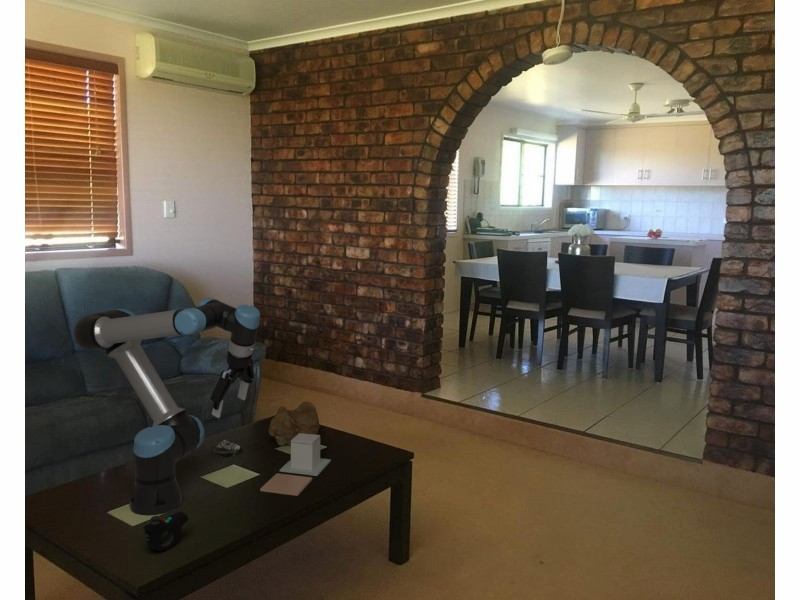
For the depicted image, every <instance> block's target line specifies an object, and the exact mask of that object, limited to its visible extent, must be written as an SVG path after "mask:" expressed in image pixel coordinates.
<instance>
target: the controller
mask: <svg viewBox="0 0 800 600" xmlns="http://www.w3.org/2000/svg"><path fill="white" fill-rule="evenodd" d="M150 521H151V522H150V523H148V524H146V525H144V526H143V529H144V537H145V538H144V540H145V541H146V543H147V545H148V546H149V547H150V548H151V549H152V550H154V551H157V552H164V551H167V550H169V549H171V548H172V547H173V546H174V545H176V543H177V542H178V540H179V538H180V536H181V532H182V527H183V526H184V525H185V524H186V523H188V521H189V517H188V514H186V513H185V512H182V511H178V512H175V513H173V514H171V515H168V516H166V517H163V518H161V519H160V516H159V515H153V516H151V517H150ZM165 533H167V536H166V538H165V540H164V541H163V542H162V543H161V539H162V537H163V535H164V534H165Z"/></svg>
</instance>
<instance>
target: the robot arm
mask: <svg viewBox="0 0 800 600" xmlns="http://www.w3.org/2000/svg"><path fill="white" fill-rule="evenodd" d="M260 318H261V312H260V310H259V309H258V308H257V307H255V306H253V305H248V304H241V305H238V306H237V307H234V306H231V305H229V304H227V303H224V302H222V301H220V300H218V299H215V298H212V297H210V296H209V297H208V296H207V297H204V298H203V299H202V300H200V302H199V303H198V305H197V306H195V307H189V308H188V307H187V308H181V309H174V310H166V311H161V312H160V311H159V312H152V313H144V314H139V315H136V314H135V313H134V312H132V311H130V310H129V309H125V308H112V309H108V310H105V311H101V312H96V313H91V314H87V315H85V316H83V317H81V318H80V319H79V320H78V321H77V322H76V324H75V326H73V327H74V328H73V338H74V341H75V342H76V345H78V346H79V347H80V348H82V349H83V350H86V351H89V352H90V351H91V352H94V351H95V352H96V351H102V350H103V351H104V352H105V353H106V355H107V357H108V358H111V359H115V360H116V362H117V364H118V365H119V367H120V369H121V370H122V372H123V373H124V375H125V377H126V379H127V380H128V382H129V383H130V385H131V386H132V388H133V390H134V392H135V394H136V395H137V396H138V398H139V400H140V401H141V404H143V406H144V408H145V409H146V411H147V413H148V414H149V417H150V418H151V419H152V422H153V423H152V426H147V427H146V428H143V429H141V430H139V432H138V433H137V434H136V435H135V437H134V439H133V440H134V441H133V443H134V444H133V447H132V448H133V459H134V477H135V479H134V481H135V482H134V486H133V490H132V493H131V497H130V499H129V508H130V510H131V512H133V513H134V514H138V515H143V516H150V515H151V516H152V515H153V516H156V515H160V514H165V513H168V512H171V511H174V510H175V509H177V508H179V506H181V504H182V503H183V494H182V491H181V489H180V486H179V484H178V480H177V477H176V463H178V462H179V461H180V460H182V459H183V458H185V457H187V456H188V455H190V454H192V453H194V452H195V451H197V449H199V448H200V446H201V445H202V444H203V441H204V438H205V427H204V425H203V423H202V421H201V420H200V419H199V418H198V417H196V416H194V415H192V414H188V412H187V410H186V408H183V407H178V405H177V403H176V402H175V400H174V398H173V396H172V395H171V394H170V392H169V391H168V389H167V387H166V386H165V384H164V382H163V381H162V379H161V377H160V375H159V374H158V373H157V370H156V369H155V367H154V365H153V364H152V363H151V361H150V360H149V357H148V356H147V354H146V353H145V351H144V349H143V348H142V346H141V343H142V340H152V339H157V338H158V339H159V338H166V337H172V336H173V337H175V336H180V335H184V336H193V335H197V334H200V333H202V332H205V331H209V330H211V329H214V328H220V329H222V330H224V331H226V332H228V333H230V340H229V345H228V351H227V355H226V363H227V365H228V367H227V369H226V371H224V370H221V372H220V376H219V378H218V381H217V382H216V385H215V387H214V389H213V392H212V393H211V395H210V397H209V400H211V401H213V406H212V411H211V415H212V416H213V417H215V418H217V419H220V418H221V415H222V410H223V404H224V400H223V399H224V398H225V396H226V394H227V392H228V391H229V389H230V388H231V386H232V384H234V383H235V382H236V380H237V379H238V378H240V377H241V381H240V385H239V389H238V393H237V398H238V399H240V400H242V401H245V400H247V399H246V398H247V395H248V390H249V384H252V383H254V380H253V379H254V378H255V372H254V365H253V362H254V359H253V358H252V357H253V352H254V350H255V348H254V347H255V343H256V337H257V334H258V329H259V326H260V320H261V319H260Z"/></svg>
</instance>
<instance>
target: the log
mask: <svg viewBox="0 0 800 600" xmlns="http://www.w3.org/2000/svg"><path fill="white" fill-rule="evenodd" d="M211 452H212V453H213V454H214V455H215V456H217V457H221V458H229V457H235V456H238V455H240V454H242V453H243V452H244V449H243V448H242V447H241V446H240V445H239V444H237V443H236V444H235V443H234V442H230V441H228V440H227V439H224V440H222V441H220V442H218V443H217V445H215V446H212V447H211Z"/></svg>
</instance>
